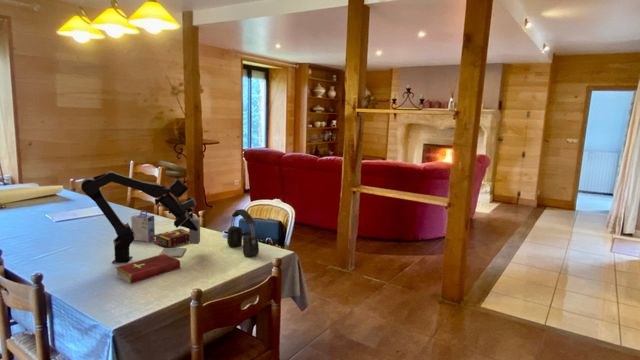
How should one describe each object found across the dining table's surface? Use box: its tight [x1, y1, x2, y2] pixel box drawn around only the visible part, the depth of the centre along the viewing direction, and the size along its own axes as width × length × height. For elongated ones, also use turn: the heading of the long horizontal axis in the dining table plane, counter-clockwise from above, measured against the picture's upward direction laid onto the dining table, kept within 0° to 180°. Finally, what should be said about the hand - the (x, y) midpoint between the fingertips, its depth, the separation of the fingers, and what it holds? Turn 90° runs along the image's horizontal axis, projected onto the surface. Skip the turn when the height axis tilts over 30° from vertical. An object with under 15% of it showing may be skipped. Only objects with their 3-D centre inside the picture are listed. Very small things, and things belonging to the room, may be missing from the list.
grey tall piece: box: [188, 213, 201, 245], centre depth 178 cm, size 4×4×13 cm
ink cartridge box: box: [130, 210, 156, 242], centre depth 196 cm, size 10×6×14 cm, turn 78°
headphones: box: [226, 208, 260, 258], centre depth 184 cm, size 22×6×20 cm, turn 40°
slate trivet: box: [158, 247, 187, 258], centre depth 179 cm, size 10×10×1 cm
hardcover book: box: [114, 253, 182, 285], centre depth 158 cm, size 12×21×4 cm, turn 141°
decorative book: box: [153, 228, 189, 248], centre depth 194 cm, size 11×16×5 cm
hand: (197, 228), depth 178 cm, fingers closed on grey tall piece, 4 cm apart
